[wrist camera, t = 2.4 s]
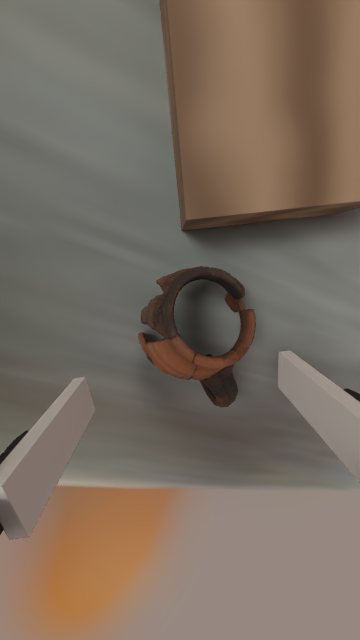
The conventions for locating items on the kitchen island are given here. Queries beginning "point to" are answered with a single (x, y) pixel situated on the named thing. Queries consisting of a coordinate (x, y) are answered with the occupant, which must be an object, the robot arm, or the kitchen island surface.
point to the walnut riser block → (263, 108)
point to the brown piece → (177, 354)
